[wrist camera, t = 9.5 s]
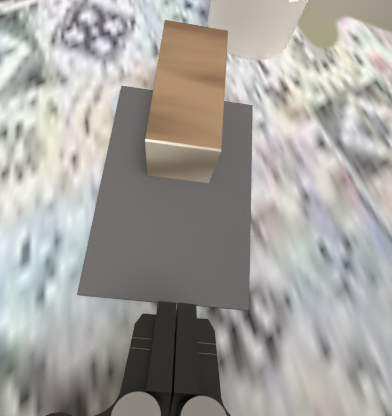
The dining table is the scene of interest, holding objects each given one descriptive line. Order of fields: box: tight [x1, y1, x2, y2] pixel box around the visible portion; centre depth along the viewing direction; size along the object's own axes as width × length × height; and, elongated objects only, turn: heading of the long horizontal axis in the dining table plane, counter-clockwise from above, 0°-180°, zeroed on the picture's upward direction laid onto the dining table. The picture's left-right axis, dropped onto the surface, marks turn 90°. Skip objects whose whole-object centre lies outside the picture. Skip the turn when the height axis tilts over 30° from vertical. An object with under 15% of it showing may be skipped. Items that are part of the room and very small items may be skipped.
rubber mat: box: [77, 86, 253, 310], centre depth 24 cm, size 18×12×1 cm, turn 175°
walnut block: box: [145, 20, 228, 183], centre depth 24 cm, size 5×5×11 cm
